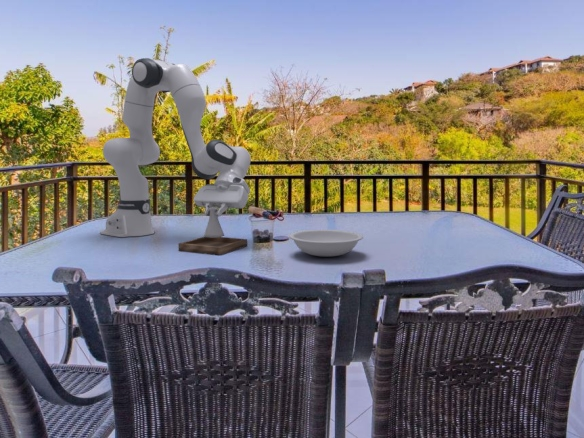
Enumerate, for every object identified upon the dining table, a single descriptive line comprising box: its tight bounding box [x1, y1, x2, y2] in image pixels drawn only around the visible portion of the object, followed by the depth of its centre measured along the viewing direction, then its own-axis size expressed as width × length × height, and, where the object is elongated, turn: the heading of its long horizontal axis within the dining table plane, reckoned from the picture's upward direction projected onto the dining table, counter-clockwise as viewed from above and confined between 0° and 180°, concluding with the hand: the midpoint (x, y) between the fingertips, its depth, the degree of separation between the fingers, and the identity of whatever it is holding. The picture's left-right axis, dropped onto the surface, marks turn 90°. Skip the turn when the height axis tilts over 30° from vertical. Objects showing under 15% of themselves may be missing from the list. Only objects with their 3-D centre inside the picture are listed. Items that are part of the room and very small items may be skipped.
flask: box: [203, 207, 225, 238], centre depth 168 cm, size 7×7×10 cm
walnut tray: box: [178, 236, 248, 256], centre depth 169 cm, size 17×17×2 cm
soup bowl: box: [288, 229, 364, 258], centre depth 157 cm, size 24×24×7 cm
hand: (212, 215), depth 167 cm, fingers closed on flask, 3 cm apart
